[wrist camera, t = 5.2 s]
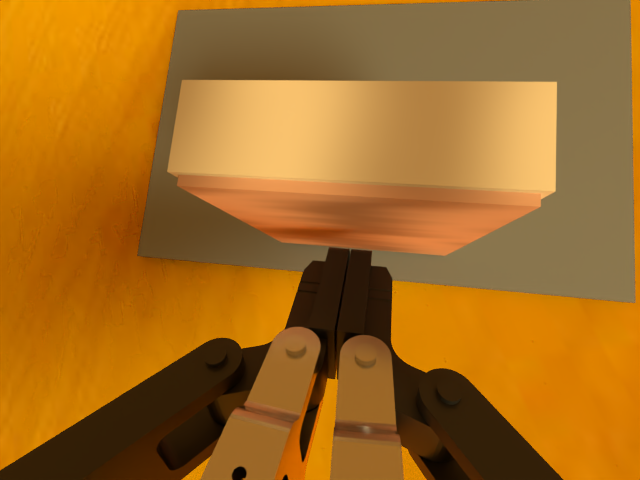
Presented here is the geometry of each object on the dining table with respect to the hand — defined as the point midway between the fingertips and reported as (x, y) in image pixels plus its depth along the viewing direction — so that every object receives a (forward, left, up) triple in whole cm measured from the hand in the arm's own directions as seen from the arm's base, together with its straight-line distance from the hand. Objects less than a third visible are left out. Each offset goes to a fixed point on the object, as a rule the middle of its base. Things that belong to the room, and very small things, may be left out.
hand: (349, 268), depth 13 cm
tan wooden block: (0, +3, -6) cm, 7 cm away
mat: (0, +8, -7) cm, 11 cm away
